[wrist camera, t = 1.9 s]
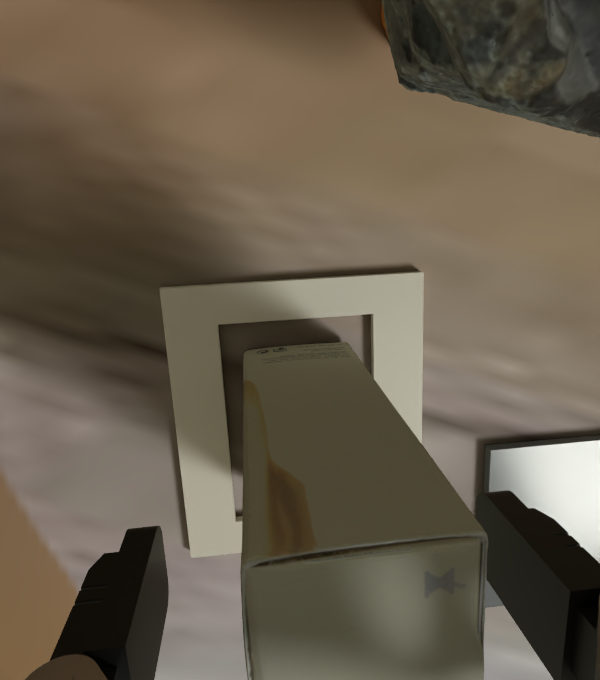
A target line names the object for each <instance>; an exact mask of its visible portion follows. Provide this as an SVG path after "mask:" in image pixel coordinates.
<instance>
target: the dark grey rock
mask: <svg viewBox="0 0 600 680" xmlns="http://www.w3.org/2000/svg"><path fill="white" fill-rule="evenodd" d="M381 18H382V24H383V27H384V29H385V32H386V37H387V38H388V40H389V42H390V47H391V53H392V57H393V60H394V64H395V68H396V71H397V75H398V79H399V83H400V84H402V85H403V86H404V87H405V88H406V89H409V90H411V91H414V90H415V91H418V92H429V93H438V94H441V95H445V96H447V97H449V98H451V99H452V100H454V101H459V102H465V103H468V104H472V105H475V106H478V107H482V108H486V109H489V110H492V111H496V112H499V113H505V114H509V115H514V116H518V117H522V118H526V119H527V120H530V121H535V122H539V123H544V124H547V125H550V126H554V127H558V128H561V129H564V130H570V131H574V132H577V133H582V134H587V135H589V136H594V137H600V0H382V10H381Z"/></svg>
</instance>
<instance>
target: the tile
mask: <svg viewBox="0 0 600 680" xmlns="http://www.w3.org/2000/svg"><path fill="white" fill-rule="evenodd" d="M506 490H509V491H511V492H513V493H514V494H515V495H516V496H517V497H518V498H519V499H520V500H521V501H522V502H523V503H524V504H525V505H526V507H527V508H528V509H529V508H535V509H537V510H539V511H540V512H542V513H544V514H546V515H548V516H549V517H551V518H553V519H554V520H556V521H557V522H558V523H559V524H560V525H561V526H562V527H563V528H564V529H565V530H566V531H567V532H568V535H569V536H572V537H573V538H574V539H575V540H576V541H577V542H578V543H579V544H580V547H583V548H584V549H585V550H586V551H587V552H588V553H589V554H590V555H591V556H592V557H594V558H595V559H596V560H597V561H598V562H599V563H600V435H591V436H580V437H570V438H559V439H548V440H537V441H526V442H516V443H505V444H494V445H486V446H485V468H484V490H483V493H487V492H496V491H506ZM495 606H503V603H502V602H501V600H500V599H499V597H498V596H497V594H496V593H495V591H494V590H493V588H492V587H491V585H490V584H489V582H488V581H487V579H486V592H485V608H487V607H495Z"/></svg>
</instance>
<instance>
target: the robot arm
mask: <svg viewBox="0 0 600 680" xmlns="http://www.w3.org/2000/svg"><path fill="white" fill-rule="evenodd" d="M476 520H477V521H478V522H479V524H480V525H481V526H482V528H483V529H484V530H485V532H486V534H487V536H488V550H487V574H486V579H487V581H488V582H489V584H490V585H491V587H492V588H493V590H494V591H495V593H496V594H497V596H498V597H499V599H500V600H501V602H502V603H503V605H504V606H505V607H506V609H507V610H508V612H509V613H510V615H511V616H512V618H513V619H514V621H515V622H516V624H517V625H518V627H519V628H520V630H521V631H522V633H523V634H524V636H525V637H526V639H527V640H528V642H529V643H530V645H531V646H532V648H533V649H534V651H535V652H536V654H537V655H538V657H539V658H540V660H541V661H542V663H543V664H544V665H545V667H546V668H547V670H548V671H549V673H550V674H551V676H552V677H553V679H554V680H600V563H599V562H598V561H597V560H596V559H595V558H594V557H592V556H591V555H590V554H589V553H588V552H587V551H586V550H585V549H584V548H583V547H580V544H579V543H578V542H577V541H576V540H575V539H574V538H573V537H572V536H569V535H568V532H567V531H566V530H565V529H564V528H563V527H562V526H561V525H560V524H559V523H558V522H557V521H556V520H554V519H553V518H551V517H549V516H548V515H546V514H544V513H542V512H540V511H539V510H537V509H535V508H529V509H528V508H527V507H526V505H525V504H524V503H523V502H522V501H521V500H520V499H519V498H518V497H517V496H516V495H515V494H514V493H513V492H511V491H509V490H506V491H496V492H487V493H480V494H479V495H478V498H477V506H476ZM167 607H168V576H167V569H166V561H165V553H164V545H163V537H162V531H161V528H160V526H152V527H142V528H132V529H128V530H127V531H126V534H125V537H124V539H123V542H122V545H121V548H120V551H119V552H114V553H105V554H103V555H102V557H101V558H100V559H99V560H98V561H97V562H96V563H95V564H94V565H93V566H92V567H91V568H90V569H89V570H88V573H87V575H86V577H85V580H84V582H83V584H82V587H81V591H79V594H78V596H77V598H76V601H75V606H73V608H72V610H71V612H70V615H69V617H68V619H67V622H66V624H65V626H64V629H63V631H62V634H61V636H60V638H59V640H58V643H57V645H56V647H55V650H54V652H53V655H52V657H51V659H50V661H49V662H47V663H45V664H43V665H42V666H40V667H39V668H37V669H36V670H35V671H33V672H32V673H31V674H30V675H29V676H28V677H27V678H26V679H25V680H154V677H155V672H156V667H157V661H158V656H159V651H160V645H161V640H162V635H163V629H164V624H165V619H166V613H167Z"/></svg>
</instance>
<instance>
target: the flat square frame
mask: <svg viewBox="0 0 600 680" xmlns="http://www.w3.org/2000/svg"><path fill="white" fill-rule="evenodd" d="M423 282H424V272H421V271H414V272H398V273H381V274H365V275H349V276H333V277H317V278H300V279H284V280H268V281H252V282H235V283H219V284H203V285H187V286H171V287H161V288H159V291H160V299H161V308H162V316H163V325H164V333H165V342H166V350H167V359H168V367H169V375H170V384H171V392H172V401H173V409H174V418H175V426H176V435H177V443H178V452H179V460H180V469H181V477H182V485H183V494H184V502H185V511H186V519H187V528H188V536H189V545H190V553H191V558H196V557H205V556H215V555H224V554H233V553H242V516H236V513H235V502H234V491H233V480H232V469H231V458H230V447H229V436H228V425H227V414H226V402H225V391H224V380H223V369H222V358H221V347H220V336H219V324H234V323H248V322H263V321H278V320H292V319H307V318H321V317H336V316H351V315H365V314H371V366H372V377H373V378H374V380H375V381H376V382H377V384H378V385H379V386H380V388H381V389H382V391H383V392H384V393H385V395H386V396H387V398H388V399H389V400H390V402H391V403H392V404H393V406H394V407H395V409H396V410H397V411H398V413H399V414H400V415H401V417H402V418H403V419H404V421H405V422H406V424H407V425H408V426H409V427H410V429H411V430H412V432H413V433H414V434H415V436H416V437H417V438H418V440H419V441H420V443H421V444H422V371H423Z"/></svg>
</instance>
